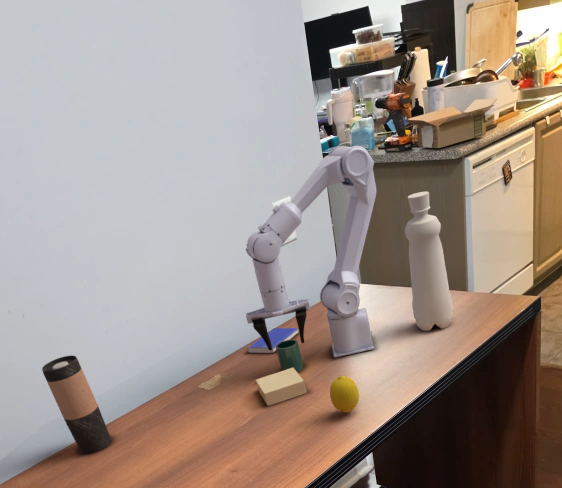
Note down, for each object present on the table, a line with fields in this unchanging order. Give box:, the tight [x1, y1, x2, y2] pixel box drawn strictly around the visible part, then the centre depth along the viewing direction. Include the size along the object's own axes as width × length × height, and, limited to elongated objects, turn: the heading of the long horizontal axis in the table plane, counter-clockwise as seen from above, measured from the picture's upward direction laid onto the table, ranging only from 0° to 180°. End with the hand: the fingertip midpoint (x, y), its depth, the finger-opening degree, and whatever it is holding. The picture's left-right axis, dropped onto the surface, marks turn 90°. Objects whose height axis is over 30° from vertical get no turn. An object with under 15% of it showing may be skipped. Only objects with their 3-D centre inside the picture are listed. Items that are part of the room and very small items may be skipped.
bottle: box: [404, 191, 454, 332], centre depth 149 cm, size 9×9×30 cm
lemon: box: [329, 375, 360, 414], centre depth 127 cm, size 6×6×8 cm
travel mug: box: [41, 355, 112, 455], centre depth 139 cm, size 8×8×20 cm
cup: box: [275, 339, 304, 374], centre depth 152 cm, size 5×5×6 cm
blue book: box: [247, 327, 300, 354], centre depth 172 cm, size 2×8×12 cm
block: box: [255, 368, 308, 407], centre depth 144 cm, size 9×9×3 cm
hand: (286, 345), depth 151 cm, fingers open, 7 cm apart
